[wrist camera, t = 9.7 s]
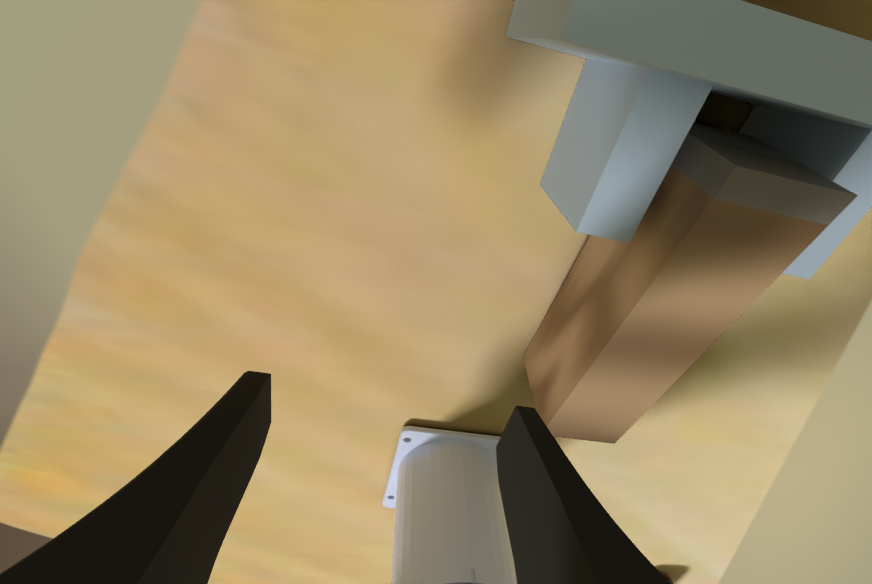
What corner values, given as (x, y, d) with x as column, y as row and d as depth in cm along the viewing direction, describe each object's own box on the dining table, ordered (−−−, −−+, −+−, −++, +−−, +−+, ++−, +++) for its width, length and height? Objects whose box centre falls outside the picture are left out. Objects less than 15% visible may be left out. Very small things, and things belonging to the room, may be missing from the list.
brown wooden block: (585, 366, 24) (614, 443, 20) (523, 357, 23) (540, 434, 20) (751, 136, 15) (858, 195, 11) (658, 112, 15) (737, 166, 11)
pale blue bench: (782, 237, 20) (936, 325, 14) (469, 169, 17) (494, 240, 11) (890, 94, 16) (1157, 130, 10) (518, -14, 14) (589, -47, 8)
